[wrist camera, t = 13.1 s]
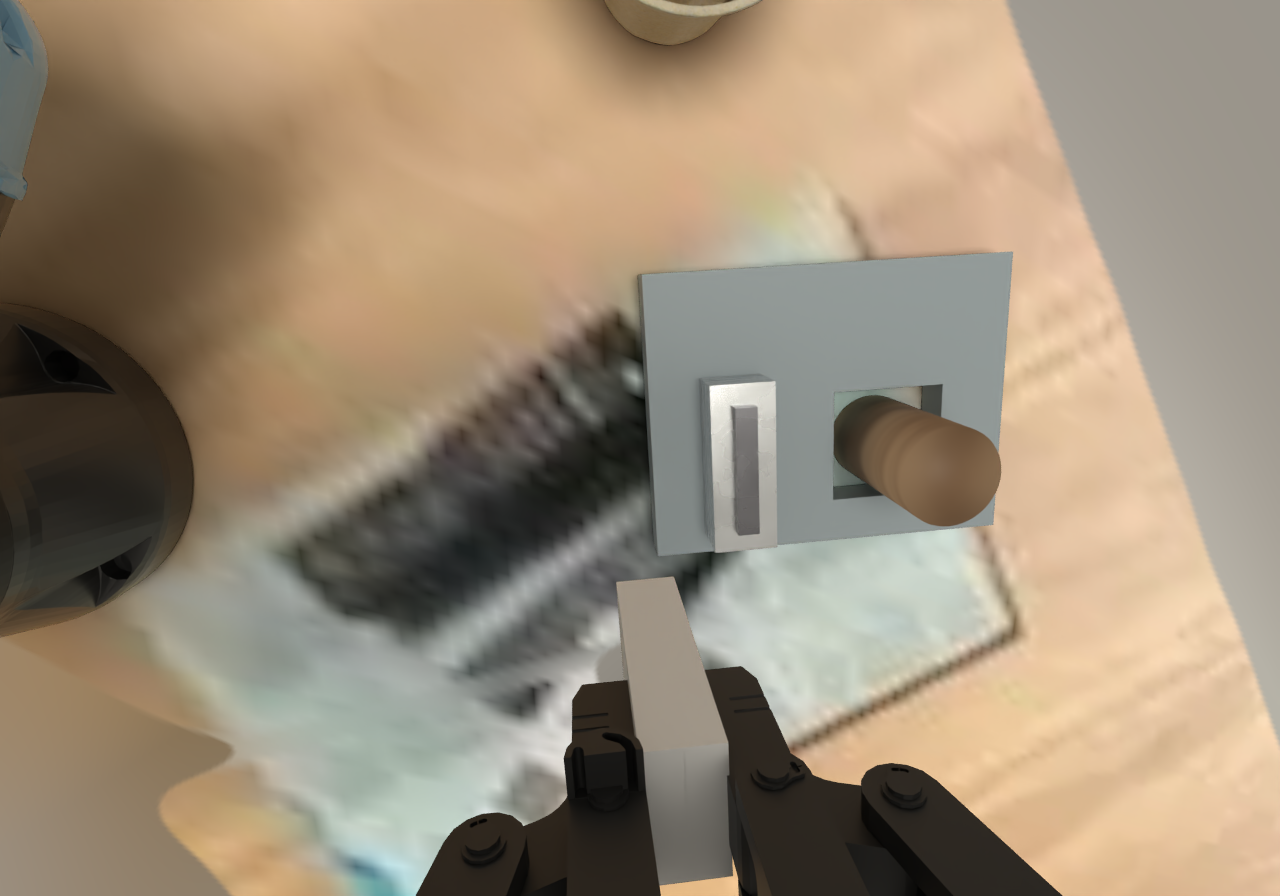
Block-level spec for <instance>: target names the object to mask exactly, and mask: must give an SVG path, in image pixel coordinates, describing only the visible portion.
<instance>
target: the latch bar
mask: <svg viewBox="0 0 1280 896" xmlns="http://www.w3.org/2000/svg"><path fill="white" fill-rule="evenodd" d="M700 401H701V427H702V453H703V479H704V505H705V531H706V536H707V538H708V539H709V541H710V543H711V545H712V547H713V549H714V551H715V553H720V552H731V551H741V550H752V549H763V548H773V547H777V470H776V381H774V380H772V379H770V378H768V377H766V376H764V375H762V374H751V375H738V376H724V377H710V378H700Z"/></svg>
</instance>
